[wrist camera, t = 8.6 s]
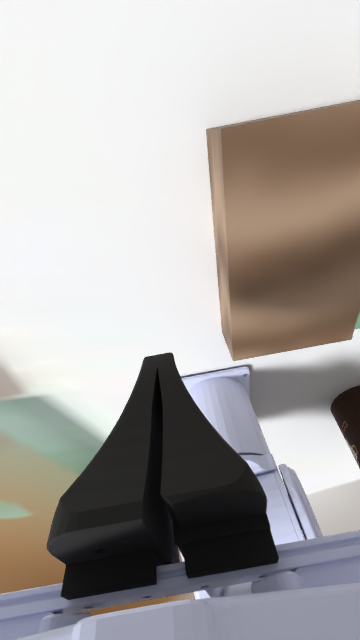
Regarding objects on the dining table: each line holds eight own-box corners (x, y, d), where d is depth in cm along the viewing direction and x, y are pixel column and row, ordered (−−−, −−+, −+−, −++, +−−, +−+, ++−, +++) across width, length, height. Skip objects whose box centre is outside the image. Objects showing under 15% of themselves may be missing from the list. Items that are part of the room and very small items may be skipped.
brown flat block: (325, 312, 26) (351, 339, 22) (222, 332, 26) (233, 361, 22) (368, 98, 16) (423, 90, 13) (206, 129, 16) (220, 128, 13)
